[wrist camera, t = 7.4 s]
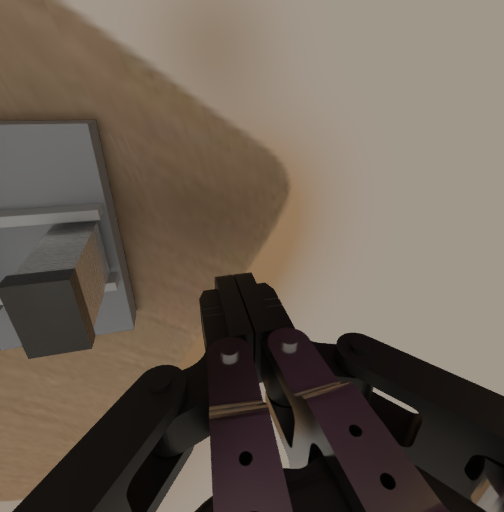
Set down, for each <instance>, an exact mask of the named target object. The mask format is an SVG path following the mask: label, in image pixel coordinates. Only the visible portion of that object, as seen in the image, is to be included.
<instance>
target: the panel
mask: <svg viewBox="0 0 504 512" xmlns="http://www.w3.org/2000/svg"><path fill="white" fill-rule="evenodd" d="M91 221H98V225H99V229H100V234H101V238H102V242H103V246H104V250H105V254H106V258H107V262H108V266H109V270H110V273H109V277H108V280H107V284H106V287H105V291H104V294H103V298H102V302H101V305H100V309H99V312H98V316H97V319H96V323H95V326H94V331H95V334H96V335H102V334H108V333H114V332H121V331H127V330H134V326H135V318H136V306H135V301H134V297H133V292H132V287H131V283H130V278H129V273H128V269H127V264H126V259H125V254H124V250H123V245H122V240H121V236H120V231H119V226H118V222H117V217H116V212H115V208H114V203H113V198H112V194H111V189H110V184H109V180H108V175H107V170H106V165H105V161H104V156H103V151H102V147H101V142H100V137H99V133H98V128H97V123H96V120H24V121H0V282H1V281H2V280H3V279H4V278H5V276H8V275H13V274H14V273H15V272H16V270H17V269H18V268H19V267H20V265H21V264H22V263H23V262H24V260H25V259H26V258H27V257H28V255H29V254H30V253H31V252H32V250H33V249H34V248H35V247H36V245H37V244H38V243H39V242H40V240H41V239H42V238H43V237H44V235H45V234H46V233H47V232H48V230H49V229H50V228H51V227H52V225H53V224H66V223H78V222H91ZM18 347H23V346H22V344H21V342H20V340H19V337H18V335H17V333H16V331H15V329H14V327H13V325H12V322H11V320H10V318H9V316H8V314H7V312H6V310H5V307H4V305H3V303H2V301H1V299H0V350H5V349H12V348H18Z"/></svg>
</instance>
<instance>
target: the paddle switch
mask: <svg viewBox="0 0 504 512" xmlns="http://www.w3.org/2000/svg"><path fill="white" fill-rule="evenodd" d="M109 273H110V270H109V266H108V262H107V258H106V254H105V250H104V246H103V242H102V238H101V234H100V229H99V225H98V221H91V222H78V223H66V224H53V225H52V227H51V228H50V229H49V230H48V232H47V233H46V234H45V235H44V237H43V238H42V239H41V240H40V242H39V243H38V244H37V245H36V247H35V248H34V249H33V250H32V252H31V253H30V254H29V255H28V257H27V258H26V259H25V260H24V262H23V263H22V264H21V265H20V267H19V268H18V269H17V270H16V272H15V273H14V274H13V275H8V276H5V278H4V279H3V280H2V281H1V282H0V299H1V301H2V303H3V305H4V307H5V310H6V312H7V314H8V316H9V318H10V320H11V322H12V325H13V327H14V329H15V331H16V333H17V335H18V337H19V340H20V342H21V344H22V346H23V348H24V350H25V352H26V355H27V357H28V359H31V358H37V357H43V356H49V355H55V354H61V353H68V352H74V351H80V350H86V349H92V346H93V343H94V339H95V335H96V334H95V331H94V326H95V323H96V319H97V316H98V312H99V309H100V305H101V302H102V298H103V294H104V291H105V287H106V284H107V280H108V277H109Z"/></svg>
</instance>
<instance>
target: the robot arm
mask: <svg viewBox="0 0 504 512" xmlns="http://www.w3.org/2000/svg"><path fill="white" fill-rule="evenodd" d="M199 301H200V312H201V323H202V332H203V338H204V345H205V354H204V356H203V357H202V358H201V360H199V361H198V362H197V363H196V364H194V365H193V366H191V367H189V368H187V369H184V370H181V369H180V368H178V367H176V366H172V365H160V366H157V367H154V368H151V369H150V370H148V371H146V372H145V373H144V374H143V375H142V376H140V378H139V379H138V380H137V381H136V382H135V383H134V384H133V385H132V386H131V387H130V388H129V389H128V390H127V391H126V392H125V393H124V394H123V395H122V397H121V398H120V399H119V400H118V401H117V402H116V403H115V404H114V405H113V406H112V407H111V408H110V409H109V410H108V411H107V412H106V413H105V414H104V416H103V417H102V418H101V419H100V420H99V421H98V422H97V423H96V424H95V425H94V426H93V427H92V428H91V429H90V430H89V431H88V432H87V433H86V435H85V436H84V437H83V438H82V439H81V440H80V441H79V442H78V443H77V444H76V445H75V446H74V447H73V448H72V449H71V450H70V451H69V452H68V454H67V455H66V456H65V457H64V458H63V459H62V460H61V461H60V462H59V463H58V464H57V465H56V466H55V467H54V468H53V469H52V470H51V471H50V473H49V474H48V475H47V476H46V477H45V478H44V479H43V480H42V481H41V482H40V483H39V484H38V485H37V486H36V487H35V488H34V489H33V490H32V492H31V493H30V494H29V495H28V496H27V497H26V498H25V499H24V500H23V501H22V502H21V503H20V504H19V505H18V506H17V507H16V509H14V511H13V512H156V510H157V509H158V507H159V505H160V504H161V502H162V500H163V499H164V497H165V496H166V494H167V492H168V490H169V489H170V487H171V486H172V484H173V482H174V480H175V479H176V477H177V476H178V474H179V472H180V471H181V469H182V467H183V466H184V464H185V463H186V461H187V459H188V457H189V456H190V454H191V452H192V450H193V447H194V445H195V444H197V443H199V442H200V441H202V440H204V439H205V438H207V437H209V436H210V448H211V470H212V492H213V496H212V497H210V498H209V499H208V500H207V501H205V502H204V503H203V504H202V505H201V506H200V507H199V508H198V509H197V510H196V511H195V512H504V396H502V395H500V394H497V393H495V392H493V391H491V390H488V389H486V388H484V387H482V386H479V385H477V384H475V383H473V382H470V381H468V380H466V379H464V378H461V377H459V376H457V375H454V374H452V373H450V372H448V371H445V370H443V369H441V368H439V367H436V366H434V365H432V364H429V363H427V362H425V361H423V360H421V359H418V358H416V357H414V356H411V355H409V354H407V353H405V352H402V351H400V350H398V349H396V348H393V347H391V346H389V345H387V344H384V343H382V342H380V341H378V340H375V339H373V338H371V337H368V336H366V335H363V334H359V333H347V334H344V335H342V336H340V337H339V339H338V340H337V344H326V343H317V342H313V341H310V339H309V338H308V336H307V335H306V334H305V333H303V332H302V331H300V330H297V329H295V327H294V326H293V324H292V322H291V320H290V318H289V316H288V315H287V313H286V311H285V309H284V307H283V306H282V303H281V302H280V300H279V299H278V296H277V294H276V292H275V290H274V289H273V288H271V287H270V286H269V285H268V284H266V283H259V284H257V283H256V281H255V279H254V277H253V275H252V273H243V274H234V275H227V276H218V277H215V289H213V290H206V291H203V293H202V295H201V297H200V299H199ZM261 382H263V383H264V386H265V389H266V393H265V401H266V403H264V402H263V399H262V395H261V390H260V386H259V383H261ZM373 387H375V388H377V389H378V390H380V391H382V392H384V393H386V394H388V395H390V396H392V397H394V398H395V399H397V400H399V401H401V402H403V403H405V404H407V405H409V406H411V407H413V408H414V409H415V410H417V411H418V412H419V414H415V413H412V412H410V411H408V410H406V409H404V408H402V407H400V406H398V405H396V404H395V403H393V402H391V401H389V400H387V399H385V398H383V397H382V396H379V395H378V394H376V393H374V392H372V391H373ZM270 414H271V416H270ZM271 417H272V419H273V422H274V424H275V426H276V429H277V431H278V434H279V436H280V439H281V441H282V444H283V446H284V449H285V451H286V454H287V456H288V460H289V465H290V469H288V468H283V467H282V463H281V459H280V454H279V450H278V446H277V441H276V437H275V433H274V429H273V425H272V420H271Z"/></svg>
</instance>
